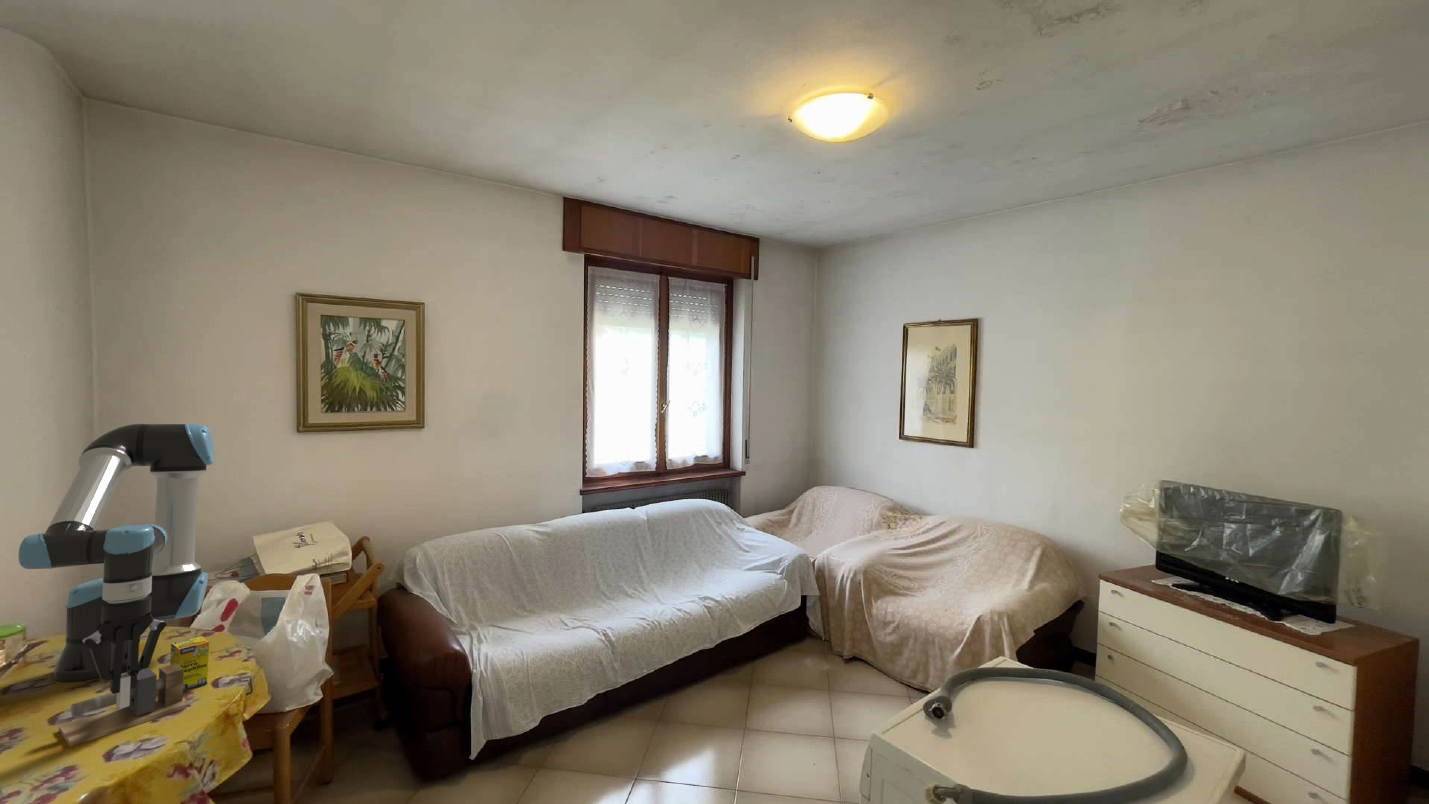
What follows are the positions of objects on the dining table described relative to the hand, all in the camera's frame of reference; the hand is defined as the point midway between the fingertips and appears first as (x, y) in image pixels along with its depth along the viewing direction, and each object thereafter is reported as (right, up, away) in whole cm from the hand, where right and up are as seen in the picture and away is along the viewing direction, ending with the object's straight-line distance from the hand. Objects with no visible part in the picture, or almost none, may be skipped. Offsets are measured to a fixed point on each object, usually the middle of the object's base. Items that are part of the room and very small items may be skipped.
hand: (122, 705), depth 123 cm
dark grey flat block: (-2, -3, +5) cm, 6 cm away
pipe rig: (-3, -5, +3) cm, 6 cm away
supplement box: (-3, -5, +18) cm, 19 cm away
